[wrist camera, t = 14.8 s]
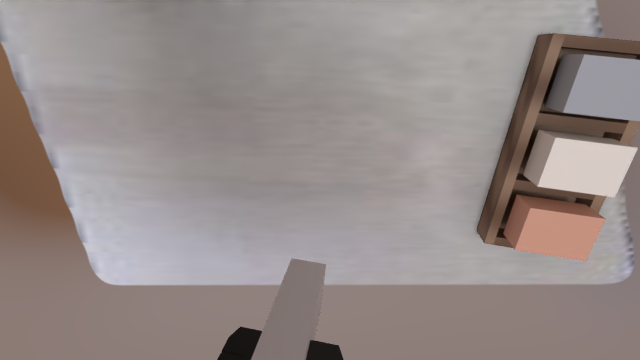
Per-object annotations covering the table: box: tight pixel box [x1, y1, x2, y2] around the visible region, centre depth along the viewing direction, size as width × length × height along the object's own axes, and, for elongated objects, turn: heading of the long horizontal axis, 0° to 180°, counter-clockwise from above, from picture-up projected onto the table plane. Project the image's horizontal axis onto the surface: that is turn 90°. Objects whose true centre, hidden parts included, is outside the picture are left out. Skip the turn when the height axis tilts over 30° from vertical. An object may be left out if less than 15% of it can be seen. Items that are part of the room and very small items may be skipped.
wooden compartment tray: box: [477, 33, 640, 248], centre depth 34 cm, size 22×10×3 cm, turn 174°
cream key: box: [523, 130, 638, 197], centre depth 32 cm, size 5×7×3 cm
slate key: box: [545, 54, 640, 121], centre depth 29 cm, size 5×7×3 cm
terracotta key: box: [503, 195, 606, 261], centre depth 34 cm, size 5×7×3 cm
